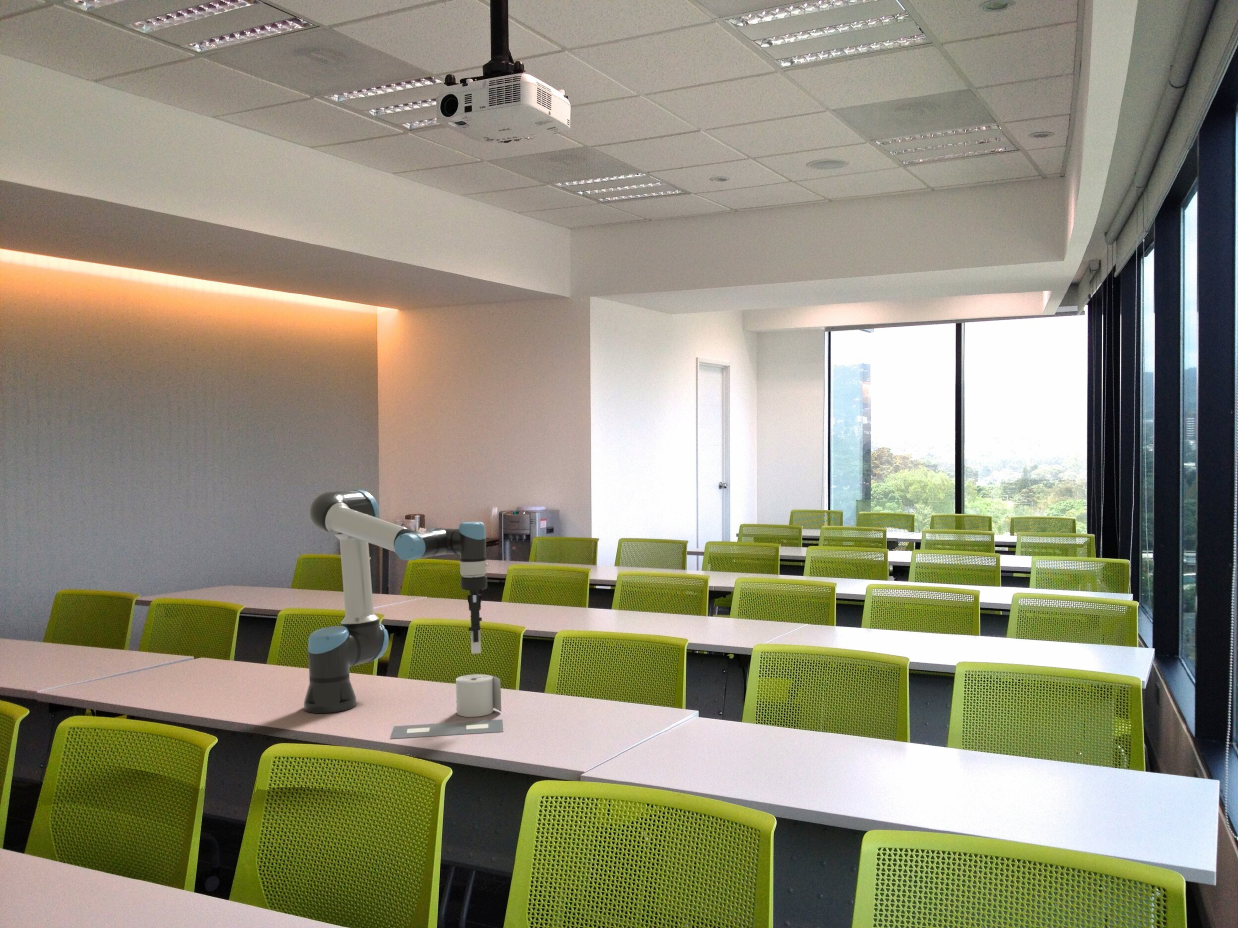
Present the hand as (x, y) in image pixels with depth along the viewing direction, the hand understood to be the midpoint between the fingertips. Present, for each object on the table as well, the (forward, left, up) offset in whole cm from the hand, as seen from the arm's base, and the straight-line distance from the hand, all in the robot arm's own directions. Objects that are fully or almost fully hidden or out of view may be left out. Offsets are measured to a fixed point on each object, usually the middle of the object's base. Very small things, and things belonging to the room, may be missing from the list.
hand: (476, 648), depth 290 cm
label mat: (-8, -14, -19) cm, 25 cm away
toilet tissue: (0, +2, -19) cm, 19 cm away
